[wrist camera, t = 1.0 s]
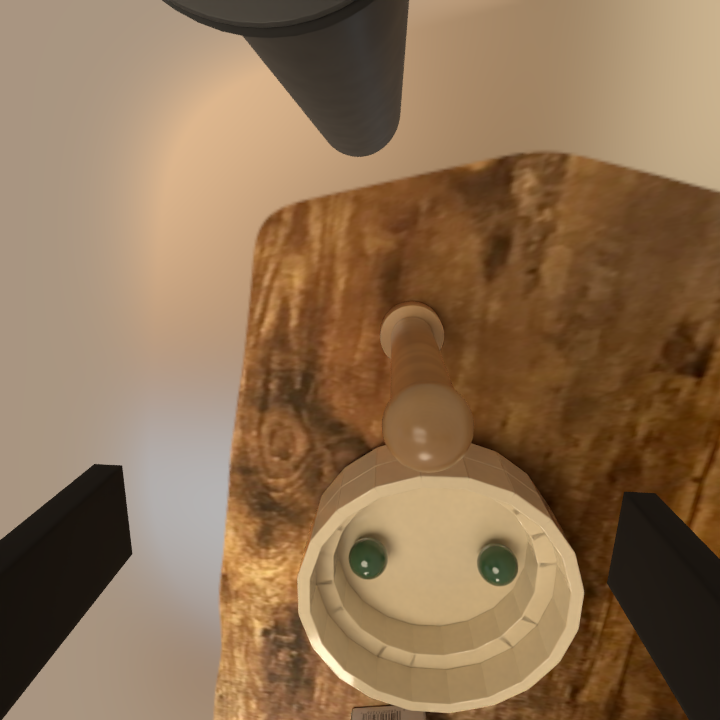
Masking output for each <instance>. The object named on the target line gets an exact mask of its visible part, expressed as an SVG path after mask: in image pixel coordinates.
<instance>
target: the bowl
mask: <svg viewBox="0 0 720 720" xmlns="http://www.w3.org/2000/svg"><path fill="white" fill-rule="evenodd" d="M365 537H372V538H375V539H377V540H379V541H380V542H381V543H382V544H383V545H384V546H385V548H386V550H387V554H388V564H387V567H386V569H385V571H384V572H383V573H382V574H381V575H380V576H379V577H377V578H375V579H372V580H365V579H361V578H359V577H358V576H356V575H355V574H354V573H353V571H352V570H351V568H350V565H349V559H348V558H349V552H350V549H351V547H352V546H353V544H354V543H355V542H356V541H358V540H359V539H361V538H365ZM491 543H500V544H503V545H505V546H507V547H509V548H510V549H511V550H512V551H513V553H514V554H515V556H516V558H517V561H518V573H517V576H516V578H515V579H514V581H513V582H511V583H510V584H508V585H506V586H501V587H498V586H493V585H491V584H489V583H487V582H486V581H485V580H484V579H483V578H482V577H481V575H480V574H479V571H478V568H477V557H478V554H479V552H480V551H481V549H482V548H483V547H485V546H486V545H488V544H491ZM297 586H298V613H299V616H300V619H301V621H302V624H303V626H304V628H305V631H306V633H307V636H308V638H309V641H310V643H311V645H312V647H313V649H314V650H315V651H316V652H317V654H318V655H319V656H320V657H321V658H322V659H323V660H324V662H325V663H326V664H327V665H328V666H329V667H330V669H331V670H332V671H333V672H334V673H335V674H336V675H337V676H338V677H339V678H340V679H342V680H343V681H345V682H346V683H348V684H349V685H351V686H353V687H354V688H356V689H357V690H359V691H360V692H362V693H364V694H365V695H367V696H368V697H370V698H372V699H376V700H379V701H382V702H385V703H388V704H391V705H394V706H397V707H401V708H404V709H407V710H410V711H424V712H439V713H451V712H452V713H454V712H460V711H466V710H471V709H477V708H482V707H488V706H494V705H496V704H498V703H500V702H502V701H504V700H507V699H509V698H511V697H513V696H515V695H517V694H520V693H522V692H524V691H526V690H528V689H529V688H531V687H532V686H533V685H534V684H535V683H537V682H538V681H539V680H540V679H541V678H542V677H543V676H544V675H546V674H547V673H548V672H549V671H550V670H551V669H552V668H554V667H555V666H556V665H557V664H558V663H559V662H560V661H561V659H562V657H563V655H564V654H565V652H566V650H567V648H568V647H569V645H570V643H571V642H572V640H573V638H574V636H575V635H576V633H577V631H578V629H579V623H580V616H581V610H582V604H583V597H584V588H583V584H582V580H581V575H580V571H579V567H578V563H577V558H576V554H575V552H574V550H573V548H572V547H571V545H570V543H569V541H568V539H567V538H566V536H565V534H564V532H563V530H562V529H561V527H560V525H559V523H558V521H557V519H556V518H555V516H554V514H553V512H552V510H551V509H550V507H549V505H548V503H547V502H546V500H545V499H544V497H543V496H542V495H541V493H540V492H539V490H538V489H537V487H536V486H535V484H534V483H533V482H532V480H531V479H530V477H529V476H528V475H527V474H526V473H525V472H524V471H522V470H521V469H520V468H518V467H517V466H515V465H514V464H513V463H511V462H510V461H509V460H507V459H506V458H505V457H503V456H502V455H500V454H499V453H498V452H495V451H493V450H490V449H487V448H484V447H481V446H478V445H475V444H472V443H471V445H470V447H469V449H468V451H467V452H466V454H465V455H464V456H463V458H462V459H461V460H460V461H459V462H457V463H456V464H455V465H453V466H451V467H450V468H448V469H445V470H442V471H439V472H430V473H427V472H419V471H415V470H413V469H410V468H408V467H406V466H404V465H403V464H401V463H400V462H399V461H398V460H397V459H396V458H395V457H394V456H393V455H392V454H391V453H390V451H389V450H388V448H387V446H386V445H384V446H380V447H378V448H375V449H374V450H372V451H371V452H369V453H367V454H366V455H364V456H363V457H361V458H359V459H358V460H356V461H355V462H353V463H351V464H350V465H348V466H346V467H345V468H344V469H343V470H342V471H341V473H340V474H339V475H338V476H337V477H336V479H335V480H334V481H333V482H332V483H331V485H330V486H329V487H328V488H327V490H326V491H325V492H324V493H323V494H322V496H321V499H320V502H319V505H318V507H317V510H316V513H315V516H314V519H313V522H312V524H311V527H310V531H309V535H308V539H307V542H306V546H305V550H304V554H303V557H302V561H301V565H300V569H299V572H298V577H297Z"/></svg>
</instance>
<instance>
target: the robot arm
mask: <svg viewBox="0 0 720 720" xmlns="http://www.w3.org/2000/svg"><path fill="white" fill-rule="evenodd" d="M131 555H132V547H131V539H130V530H129V521H128V514H127V504H126V495H125V488H124V478H123V470H122V466H120V465H100V464H94V465H93V466H91V467H90V468H89V469H88V470H87V471H85V472H84V473H83V474H82V475H81V476H79V477H78V478H77V479H75V480H74V481H73V482H72V483H71V484H69V485H68V486H67V487H65V488H64V489H63V490H62V491H61V492H59V493H58V494H57V495H56V496H54V497H53V498H52V499H51V500H49V501H48V502H47V503H46V504H44V505H43V506H42V507H41V508H40V509H38V510H37V511H36V512H35V513H33V514H32V515H31V516H30V517H28V518H27V519H26V520H25V521H23V522H22V523H21V524H20V525H18V526H17V527H16V528H15V529H13V530H12V531H11V532H10V533H9V534H7V535H6V536H5V537H4V538H2V539H1V540H0V720H2V719H3V717H4V716H5V715H6V714H7V712H8V711H9V710H10V709H11V707H12V706H13V705H14V704H15V702H16V701H17V700H18V699H19V697H20V696H21V695H22V693H23V692H24V691H25V690H26V688H27V687H28V686H29V685H30V683H31V682H32V681H33V679H34V678H35V677H36V676H37V674H38V673H39V672H40V671H41V669H42V668H43V667H44V665H45V664H46V663H47V662H48V660H49V659H50V658H51V657H52V655H53V654H54V653H55V651H56V650H57V649H58V648H59V646H60V645H61V644H62V642H63V641H64V640H65V639H66V637H67V636H68V635H69V634H70V632H71V631H72V630H73V629H74V627H75V626H76V625H77V623H78V622H79V621H80V620H81V618H82V617H83V616H84V614H85V613H86V612H87V611H88V610H89V608H90V607H91V606H92V604H93V603H94V602H95V601H96V599H97V598H98V597H99V595H100V594H101V593H102V592H103V590H104V589H105V588H106V586H107V585H108V584H109V583H110V582H111V580H112V579H113V578H114V576H115V575H116V574H117V572H118V571H119V570H120V569H121V567H122V566H123V565H124V564H125V562H126V561H127V560H128V559H129V557H130V556H131ZM607 584H608V585H609V587H610V589H611V590H612V592H613V594H614V595H615V597H616V599H617V600H618V602H619V604H620V605H621V607H622V609H623V610H624V612H625V614H626V615H627V617H628V619H629V620H630V622H631V624H632V625H633V627H634V629H635V630H636V632H637V634H638V635H639V637H640V639H641V640H642V642H643V644H644V645H645V647H646V649H647V650H648V652H649V654H650V655H651V657H652V659H653V660H654V662H655V664H656V665H657V667H658V669H659V670H660V672H661V674H662V675H663V677H664V679H665V680H666V682H667V684H668V685H669V687H670V689H671V690H672V692H673V694H674V695H675V697H676V699H677V700H678V702H679V704H680V705H681V707H682V709H683V710H684V712H685V714H686V715H687V717H688V719H689V720H720V559H719V558H718V557H717V556H716V555H715V554H714V553H713V552H712V551H711V550H710V549H709V548H708V547H707V546H706V545H705V544H704V543H703V542H702V541H701V540H700V539H699V538H698V537H697V536H696V534H695V533H694V532H693V531H692V530H691V529H690V528H689V527H688V526H687V525H686V524H685V523H684V522H683V521H682V520H681V519H680V518H679V517H678V516H677V515H676V514H675V513H674V512H673V511H672V510H671V509H670V508H669V507H668V506H667V505H666V504H665V503H664V502H663V501H662V500H661V499H660V498H659V497H658V496H657V495H656V494H655V493H638V492H624V496H623V501H622V506H621V512H620V517H619V522H618V528H617V533H616V539H615V544H614V549H613V555H612V560H611V565H610V571H609V576H608V581H607Z"/></svg>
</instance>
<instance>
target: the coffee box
mask: <svg viewBox="0 0 720 720" xmlns="http://www.w3.org/2000/svg"><path fill="white" fill-rule="evenodd" d="M351 720H426V714H425V712H424V711H410V710H407V709H404V708H401V707H397V706H381V707H365V708H354V709H352V713H351Z"/></svg>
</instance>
